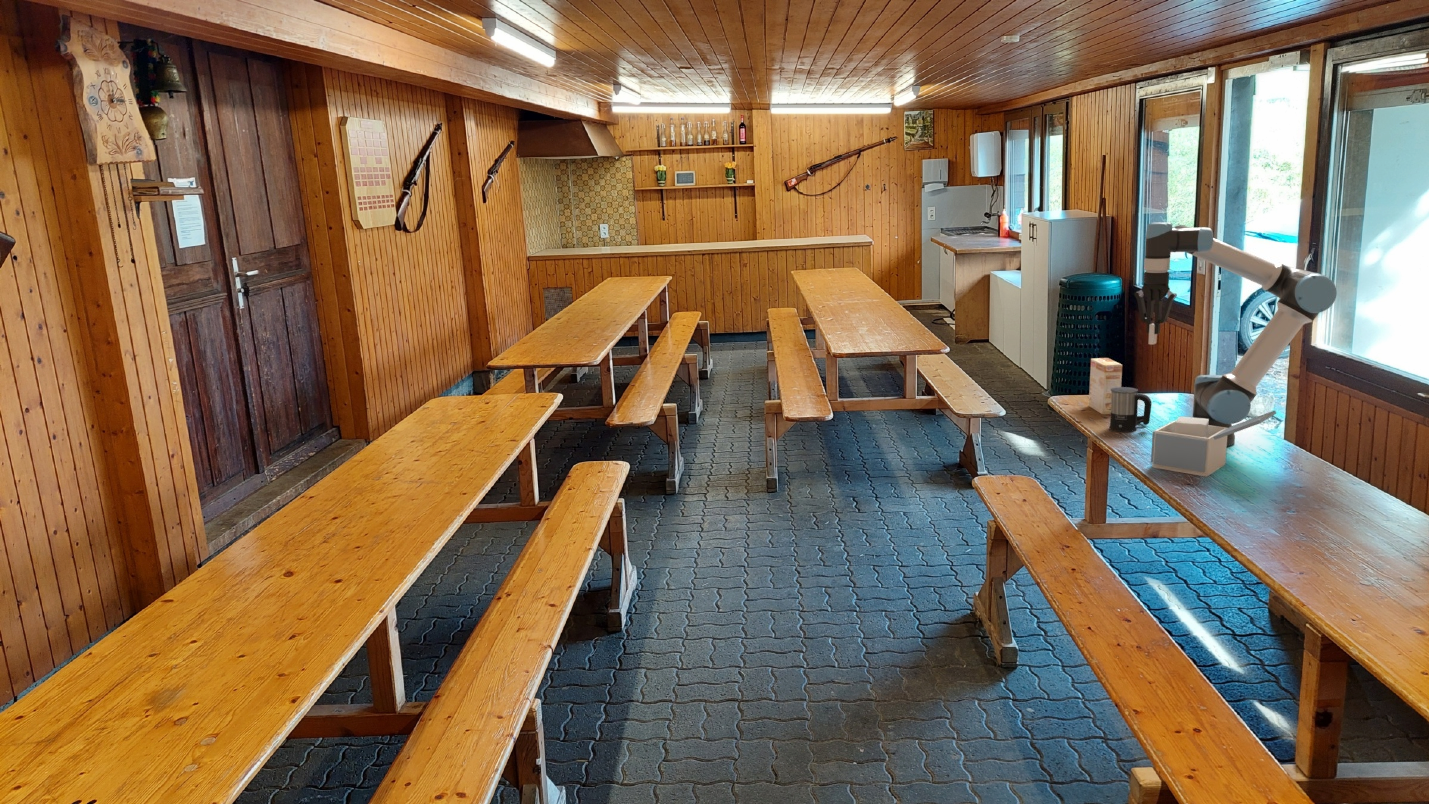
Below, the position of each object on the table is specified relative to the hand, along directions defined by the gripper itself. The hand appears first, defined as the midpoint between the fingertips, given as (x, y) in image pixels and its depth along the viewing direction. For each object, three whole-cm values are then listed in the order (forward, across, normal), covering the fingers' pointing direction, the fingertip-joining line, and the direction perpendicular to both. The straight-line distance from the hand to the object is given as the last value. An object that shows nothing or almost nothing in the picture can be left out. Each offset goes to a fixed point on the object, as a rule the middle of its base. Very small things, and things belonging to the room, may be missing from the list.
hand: (1152, 343), depth 321 cm
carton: (+36, -17, +9) cm, 41 cm away
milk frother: (+37, +17, -27) cm, 49 cm away
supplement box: (+37, -17, +9) cm, 41 cm away
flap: (+24, -26, +9) cm, 37 cm away
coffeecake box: (+37, +35, -47) cm, 69 cm away
